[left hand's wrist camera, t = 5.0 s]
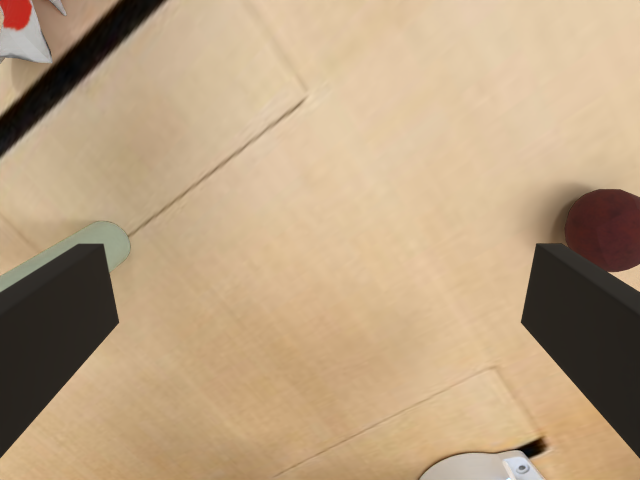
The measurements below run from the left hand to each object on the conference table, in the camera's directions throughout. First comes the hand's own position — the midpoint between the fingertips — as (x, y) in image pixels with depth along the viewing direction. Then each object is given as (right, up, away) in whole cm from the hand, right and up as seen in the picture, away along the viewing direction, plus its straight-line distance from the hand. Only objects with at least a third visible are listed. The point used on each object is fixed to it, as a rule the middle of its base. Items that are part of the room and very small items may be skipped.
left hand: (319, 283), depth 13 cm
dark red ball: (+27, +4, +28) cm, 39 cm away
